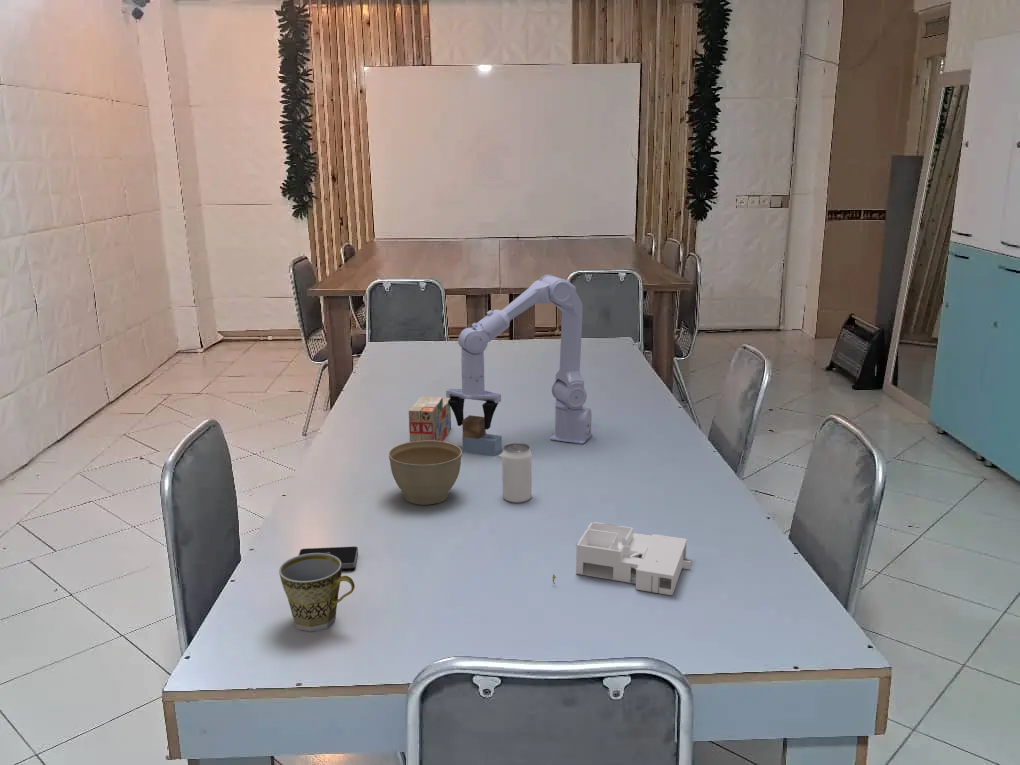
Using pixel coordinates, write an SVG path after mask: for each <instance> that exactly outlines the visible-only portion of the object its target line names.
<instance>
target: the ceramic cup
mask: <svg viewBox="0 0 1020 765" xmlns="http://www.w3.org/2000/svg"><path fill="white" fill-rule="evenodd" d="M298 555H299V554H298ZM298 555H296V556H294V557H291V558H289V559H288V560H285V562H284V563H282V564H281V566H280V567H279V570H278V573H279V576H280V577H279V578H280V581H281V585H282V587H283V590H284V593H285V595H286V597H287V600H288V604H289V608H290V611H291V616H292V620H293V622H294V625H295V627H296V629H297V630H301V631H306V632H308V633H309V632H310V633H312V632H317V631H321V630H326V629H328V628H330V627H331V626H332V625H333V624H334V622H336V618H337V608H338V604H339V603H340V602H341V601H342V600H344V598H346V597H347V596H349V595H351V594H352V593H353V592H354V591H355V588H356V587H355V582H354V580H353V579H352V578H351V577H350V576H348V575H342V572H343V571H342V562H341V560H340V559H339V558H337V557H336V556H334V555H331V554H326V553H309V554H303V555H299V556H298ZM341 582H347V583H349V584H350V586H351V589H350V590H349V591H348V592H346V593H344V594H343V595H341V596H340V598H339V593H340V592H339V591H340V587H341Z"/></svg>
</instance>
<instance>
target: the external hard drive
mask: <svg viewBox="0 0 1020 765" xmlns="http://www.w3.org/2000/svg"><path fill="white" fill-rule="evenodd" d="M309 553H326V554H331V555H334V556H336V557H337V558H339V559H340V560H341V562H342V572H354V571H355V570H356V569H357V568H356V567H357V563H358V557H359V547H358V546H356V545H355V546H353V545H352V546H337V547H336V546H335V547H334V546H333V547H332V546H331V547H313V548H311V547H306V548H302V549H300V550H299V553H298V555H297V556H299V555H303V554H309Z"/></svg>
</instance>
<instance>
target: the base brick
mask: <svg viewBox="0 0 1020 765" xmlns="http://www.w3.org/2000/svg"><path fill="white" fill-rule="evenodd" d="M502 438H503V437H502V435H498V434H491V433H486V434H484V435H483V436H482V437H481V438H479V439H475V438H467V437H463V436H462V453H469V454H470V453H471V454H476V453H477V454H479V455H484V456H491V457H496V456H497V455H498V454H499V453H500V452H502V451H501V450H502V449H503V448H502V445H503V443H502V442H503V441H502Z"/></svg>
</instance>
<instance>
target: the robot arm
mask: <svg viewBox="0 0 1020 765" xmlns="http://www.w3.org/2000/svg"><path fill="white" fill-rule="evenodd" d="M576 290H577V287H576V286H575V285H574V284H573V283H571V282H570V281H569V280H567V279H565V278H560V277H557V276H554V275H553V274H545V275H542V276H541V277H540V278H539V279H537V280H535V281H534V282H532V284H531V285H530V286H529V287H528V288H527V289H526V290H525V291H523V292H522V293H521V294H519V295H518V296H517V297H516V298H515V299H514V300H512V301H511V302H510V303H508V305H506V306H505V307H504V308H503V309H494V310H491V309H490V310H488V311H487V312H486V315H485V316H484V317H483V318H482V319H480V320H479V321H478V322H473V323H472V324H471V327H466V328H464V329H463V330H461V332H460V334H459V336H458V338H457V344H458V345H459V347H460V348H461V358H460V359H461V388H448V389H446V390H445V393H446V394H445V396H446V397H445V398H450V400H449V401H448V403H449V405H450V409H451V410H452V412H453V414H454V416H455V419H456V424H457V426H458V427H462V420H463V419H465V416H464V406H465V401H466V400H471V401H472V400H473V401H481V402H484V403H483V404H482V405H481V406H482V410H483V417H484V427H485V429H486V430H488V429H490V428H491V427H492V420H493V416H494V413H495V411H496V408H497V407H498V405H499V403H501V402H502V394H501V393H497V392H491V391H488V390H485V354H484V353H485V351H486V349H487V347H488V343H491V341H493V340H494V339H496V338H497V337H498V336H499V335H500V334H502V333H503V332H505V331H506V330H507V329H508V328H509V327H510V323H511V321H512V320H513V319H515V318H516V317H518V316H519V315H521V314H522V313H524V312H525V311H527V310H528V309H530V308H532V307H533V306H535V305H536V304H550V303H553V304H554V306H555V307H557V309H559V310H560V312H561V327H560V328H561V329H560V330H561V331H560V354H559V355H560V356H559V369H558V371H557V372H556V373H555V378H554V380H555V381H554V382H553V384H552V386H551V393H552V396H553V397H554V399H555V403H554V404H555V412H554V414H555V416H554V417H555V418H554V419H555V420H554V421H555V422H554V423H555V424H554V425H555V426H554V434H553V435H552V436H550V438H549V440H550V441H558V442H565V443H573V444H580V445H584V444H585V443H586V442H587V441H589V439H590V437H592V435H593V433H592V416H593V415H592V410H591V408H589V407H587V406H586V407H585V406H584V405H585V403H586V401H587V397H588V396H587V391H586V389H585V381H584V378H583V376H582V374H581V372H580V370H581V369H580V368H581V356H582V354H581V352H582V350H581V349H582V334H583V311H584V310H583V309H584V306H583V303H582V300H581V298H580V297H579V295H578V293H577V291H576Z"/></svg>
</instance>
